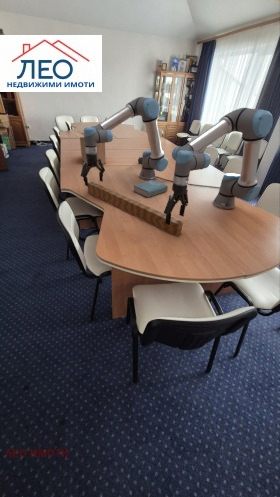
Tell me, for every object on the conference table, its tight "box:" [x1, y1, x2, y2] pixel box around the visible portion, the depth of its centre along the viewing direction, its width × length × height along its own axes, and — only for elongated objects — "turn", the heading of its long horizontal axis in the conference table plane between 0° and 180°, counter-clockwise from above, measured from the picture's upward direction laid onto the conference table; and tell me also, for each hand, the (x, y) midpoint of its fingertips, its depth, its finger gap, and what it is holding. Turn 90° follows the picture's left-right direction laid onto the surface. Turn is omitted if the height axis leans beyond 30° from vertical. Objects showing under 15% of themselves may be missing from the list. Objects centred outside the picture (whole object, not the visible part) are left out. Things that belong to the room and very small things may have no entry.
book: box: [133, 179, 169, 198], centre depth 177 cm, size 23×16×5 cm
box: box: [70, 130, 107, 165], centre depth 229 cm, size 44×36×27 cm
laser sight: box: [137, 156, 143, 165], centre depth 237 cm, size 10×22×10 cm, turn 78°
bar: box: [86, 181, 184, 237], centre depth 147 cm, size 83×4×8 cm, turn 48°
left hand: (94, 183), depth 164 cm, fingers open, 13 cm apart
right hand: (174, 219), depth 126 cm, fingers open, 13 cm apart
